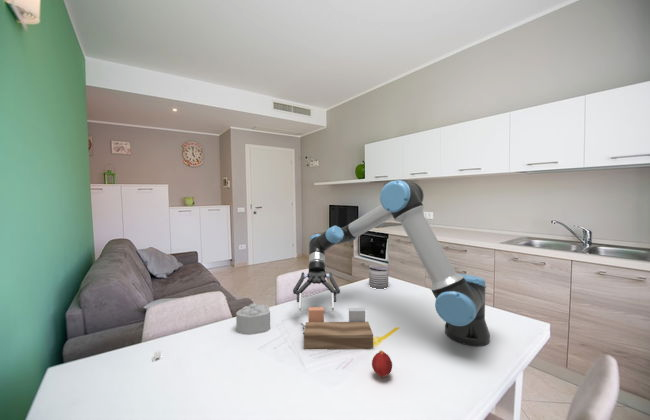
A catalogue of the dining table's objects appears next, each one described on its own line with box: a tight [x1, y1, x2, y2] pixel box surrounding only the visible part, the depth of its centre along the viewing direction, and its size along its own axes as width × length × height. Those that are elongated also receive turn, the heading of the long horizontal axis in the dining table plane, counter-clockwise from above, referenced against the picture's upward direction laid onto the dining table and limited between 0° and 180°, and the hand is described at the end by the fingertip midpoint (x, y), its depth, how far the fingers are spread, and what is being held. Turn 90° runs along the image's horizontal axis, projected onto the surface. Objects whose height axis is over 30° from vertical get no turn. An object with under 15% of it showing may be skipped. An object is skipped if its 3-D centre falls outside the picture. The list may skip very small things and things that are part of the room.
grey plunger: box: [348, 307, 366, 322], centre depth 101 cm, size 12×6×8 cm, turn 1°
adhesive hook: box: [151, 349, 163, 363], centre depth 88 cm, size 3×3×3 cm
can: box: [368, 265, 390, 290], centre depth 158 cm, size 11×11×12 cm
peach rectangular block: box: [308, 306, 325, 322], centre depth 101 cm, size 12×6×8 cm, turn 1°
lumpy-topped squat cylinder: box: [235, 302, 271, 336], centre depth 108 cm, size 10×13×9 cm
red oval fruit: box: [371, 349, 393, 378], centre depth 79 cm, size 6×6×8 cm
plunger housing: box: [303, 321, 374, 350], centre depth 98 cm, size 10×24×5 cm, turn 91°
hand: (316, 309), depth 110 cm, fingers open, 13 cm apart
